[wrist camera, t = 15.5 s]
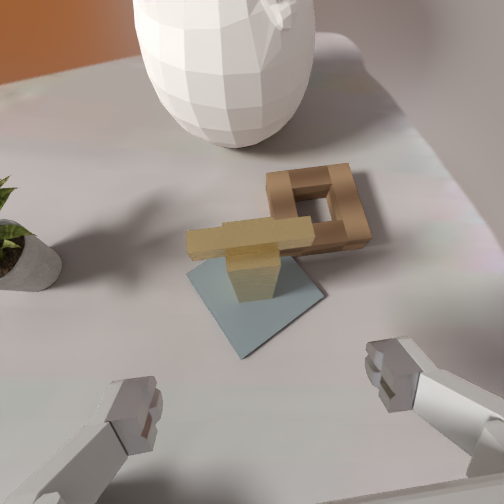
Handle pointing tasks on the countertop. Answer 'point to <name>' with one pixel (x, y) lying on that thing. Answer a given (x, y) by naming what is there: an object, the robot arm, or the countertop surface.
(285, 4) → the white vase
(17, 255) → the house plant
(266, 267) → the t key
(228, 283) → the slate mat
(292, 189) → the socket block
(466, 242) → the countertop surface
